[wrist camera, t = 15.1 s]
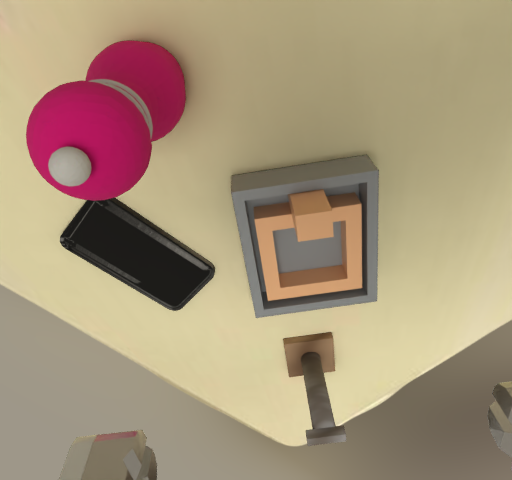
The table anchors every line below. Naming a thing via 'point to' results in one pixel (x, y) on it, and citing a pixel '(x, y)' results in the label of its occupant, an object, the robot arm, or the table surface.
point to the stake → (315, 383)
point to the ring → (310, 228)
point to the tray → (312, 251)
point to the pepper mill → (107, 121)
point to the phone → (137, 252)
